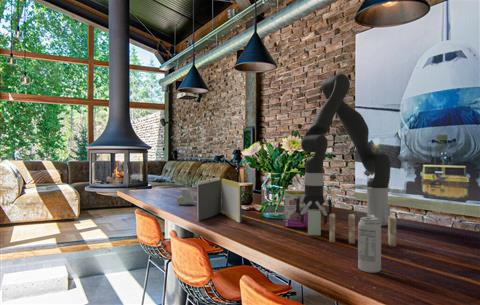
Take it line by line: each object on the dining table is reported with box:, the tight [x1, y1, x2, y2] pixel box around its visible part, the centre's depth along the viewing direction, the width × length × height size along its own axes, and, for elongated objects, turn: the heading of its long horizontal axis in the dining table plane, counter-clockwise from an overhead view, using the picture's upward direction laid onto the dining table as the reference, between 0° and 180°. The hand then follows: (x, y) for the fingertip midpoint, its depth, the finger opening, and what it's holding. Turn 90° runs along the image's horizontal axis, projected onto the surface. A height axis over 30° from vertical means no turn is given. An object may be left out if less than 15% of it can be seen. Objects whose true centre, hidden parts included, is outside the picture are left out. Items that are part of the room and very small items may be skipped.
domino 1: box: [307, 209, 322, 236], centre depth 148 cm, size 2×5×10 cm, turn 76°
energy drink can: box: [357, 216, 382, 274], centre depth 102 cm, size 6×6×15 cm
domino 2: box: [328, 212, 336, 243], centre depth 137 cm, size 2×5×10 cm, turn 166°
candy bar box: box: [283, 189, 310, 229], centre depth 164 cm, size 11×5×16 cm, turn 84°
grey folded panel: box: [196, 177, 243, 224], centre depth 186 cm, size 35×22×20 cm, turn 20°
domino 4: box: [387, 215, 397, 247], centre depth 132 cm, size 2×5×10 cm, turn 166°
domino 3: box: [348, 213, 356, 245], centre depth 136 cm, size 2×5×10 cm, turn 166°
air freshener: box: [176, 188, 195, 206], centre depth 234 cm, size 11×8×10 cm
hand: (313, 224), depth 148 cm, fingers open, 8 cm apart
